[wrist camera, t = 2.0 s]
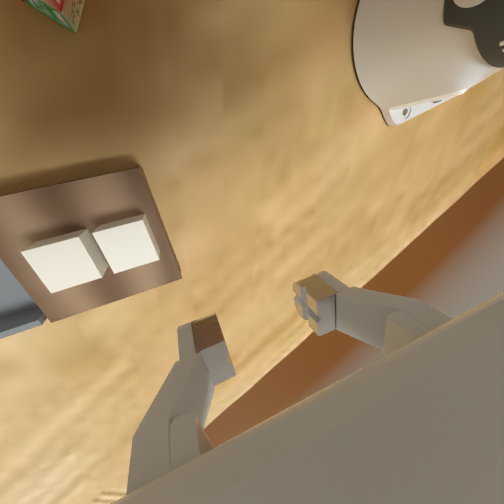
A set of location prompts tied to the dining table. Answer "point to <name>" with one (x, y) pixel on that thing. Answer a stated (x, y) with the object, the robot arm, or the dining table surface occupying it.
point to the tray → (16, 306)
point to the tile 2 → (127, 243)
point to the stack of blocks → (60, 11)
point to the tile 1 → (66, 260)
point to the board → (90, 216)
